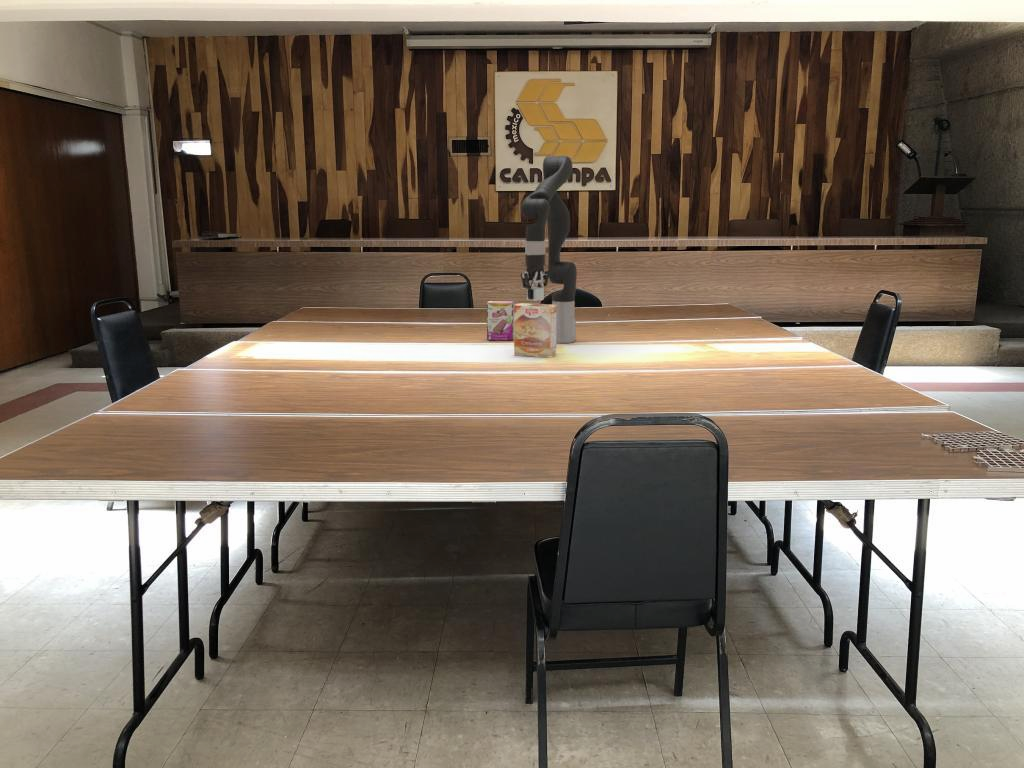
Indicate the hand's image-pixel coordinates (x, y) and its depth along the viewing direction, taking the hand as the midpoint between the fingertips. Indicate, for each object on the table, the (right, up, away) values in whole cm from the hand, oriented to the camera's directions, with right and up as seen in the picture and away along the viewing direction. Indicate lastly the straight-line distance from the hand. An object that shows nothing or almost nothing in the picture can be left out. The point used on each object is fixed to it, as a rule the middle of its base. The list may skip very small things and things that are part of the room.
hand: (535, 298), depth 322 cm
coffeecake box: (0, -21, +5) cm, 22 cm away
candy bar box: (-14, -14, +39) cm, 43 cm away
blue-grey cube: (0, 0, 0) cm, 0 cm away
